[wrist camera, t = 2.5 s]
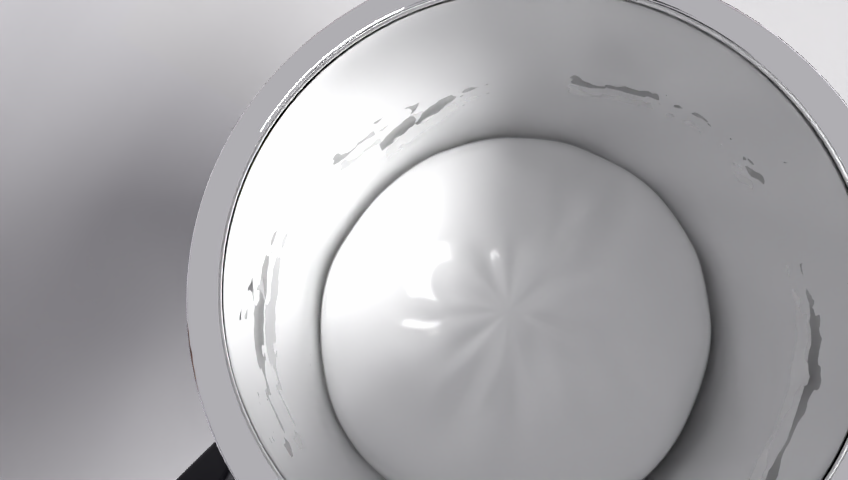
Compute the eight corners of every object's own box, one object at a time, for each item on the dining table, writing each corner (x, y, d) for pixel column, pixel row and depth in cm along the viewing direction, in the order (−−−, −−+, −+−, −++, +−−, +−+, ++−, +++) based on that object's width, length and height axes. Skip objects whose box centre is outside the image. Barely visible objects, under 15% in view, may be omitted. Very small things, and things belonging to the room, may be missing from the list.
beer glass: (361, 362, 20) (23, 292, 5) (484, 221, 21) (479, -162, 6) (510, 504, 18) (607, 974, 4) (638, 343, 19) (1131, 201, 4)
